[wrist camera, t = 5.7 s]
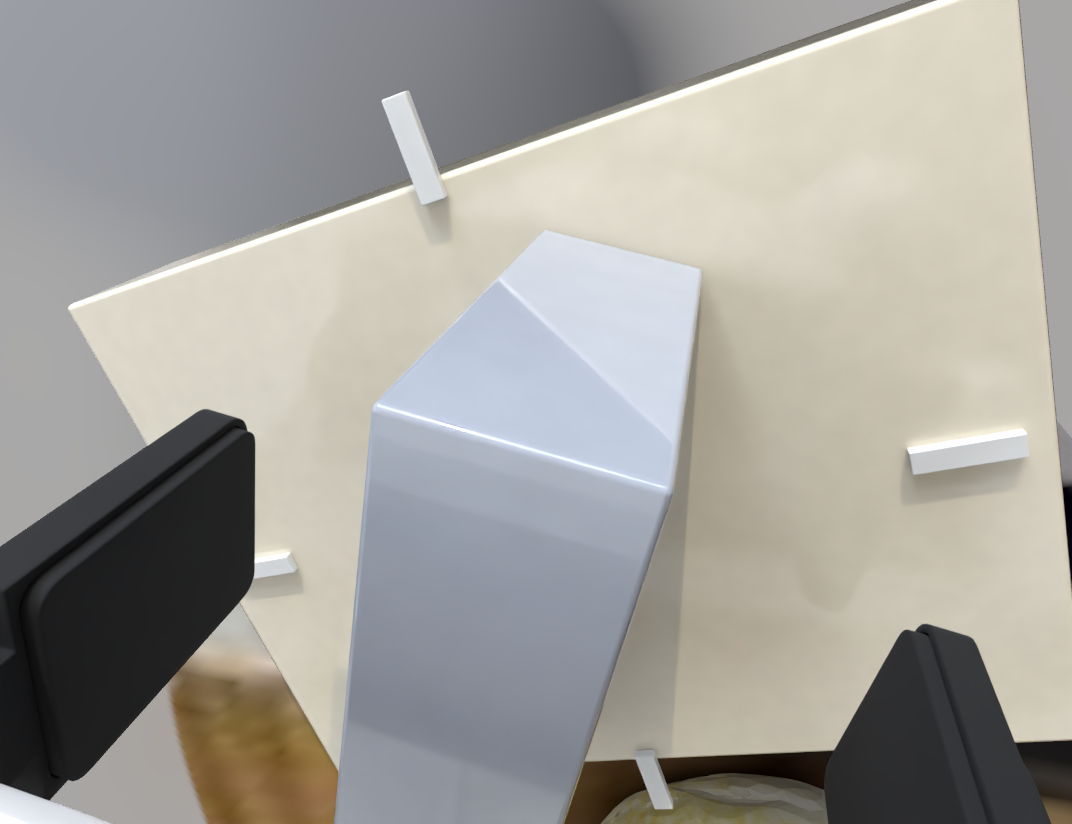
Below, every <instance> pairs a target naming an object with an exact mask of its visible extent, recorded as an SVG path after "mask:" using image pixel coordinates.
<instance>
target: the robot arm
mask: <svg viewBox="0 0 1072 824" xmlns="http://www.w3.org/2000/svg"><path fill="white" fill-rule="evenodd" d="M254 572H255V437H254V435H253V434H252V433H251V432H248V431H247V426H246V424H245V422H244V421H243V420H242V419H239V418H236V417H233V416H229V415H226V414H223V413H219V412H216V411H213V410H209V409H202V410H200V411H198V412H196V413H195V414H193V415H192V416H190V417H189V418H187V419H186V420H185V421H183V422H182V423H180V424H179V425H177V426H176V427H174V428H173V429H171V430H170V431H168V432H167V433H166V434H164V435H163V436H161V437H160V438H158V439H157V440H155V441H154V442H152V443H151V444H150V445H148V446H147V447H145V448H144V449H142V450H141V451H139V452H138V453H136V454H135V455H133V456H132V457H131V458H129V459H128V460H126V461H125V462H123V463H122V464H120V465H119V466H117V467H116V468H114V469H113V470H112V471H110V472H109V473H107V474H106V475H104V476H103V477H101V478H100V479H99V480H97V481H96V482H94V483H93V484H91V485H90V486H88V487H87V488H86V489H84V490H82V491H81V492H79V493H78V494H76V495H75V496H74V497H72V498H71V499H69V500H68V501H66V502H65V503H63V504H62V505H61V506H59V507H57V508H56V509H55V510H53V511H52V512H50V513H49V514H47V515H46V516H44V517H43V518H42V519H40V520H39V521H37V522H36V523H34V524H33V525H31V526H30V527H28V528H27V529H25V530H24V531H22V532H21V533H20V534H18V535H17V536H15V537H14V538H12V539H11V540H9V541H8V542H7V543H5V544H4V545H2V546H1V547H0V824H112V823H109V822H107V821H104V820H101V819H98V818H96V817H93V816H91V815H88V814H85V813H83V812H80V811H77V810H75V809H71V808H69V807H66V806H63V805H60V804H58V803H55V802H52V801H49V800H50V799H51V798H52V797H53V796H54V795H55V794H56V793H57V791H58V790H59V789H60V788H61V787H62V786H63V785H64V784H65V783H66V782H67V780H71V781H75V780H78V779H80V778H81V777H83V776H84V775H85V774H86V773H87V772H88V771H89V770H90V769H91V768H92V767H93V766H94V765H95V764H96V762H97V761H98V760H99V759H100V758H101V757H102V756H103V755H104V753H105V752H106V751H107V750H108V749H109V748H110V747H111V745H113V743H114V742H115V741H116V740H117V739H118V738H119V737H120V736H121V734H122V733H123V732H124V731H125V730H126V729H127V728H128V727H129V725H130V724H131V723H132V722H133V721H134V720H135V719H136V718H137V716H138V715H139V714H140V713H141V712H142V711H143V710H144V709H145V707H146V706H147V705H148V704H149V703H150V702H151V701H152V700H153V698H154V697H155V696H156V695H157V694H158V693H159V692H160V691H161V690H162V688H163V687H164V686H165V685H166V684H167V683H168V682H169V681H170V679H171V678H172V677H173V676H174V675H175V674H176V673H177V672H178V670H179V669H180V668H181V667H182V666H183V665H184V664H185V663H186V661H187V660H188V659H189V658H190V657H191V656H192V655H193V654H194V652H195V651H196V650H197V649H198V648H199V647H200V646H201V645H202V644H203V642H204V641H205V640H206V639H207V638H208V637H209V636H210V635H211V633H212V632H213V631H214V630H215V629H216V628H217V627H218V626H219V624H220V623H221V622H222V621H223V620H224V619H225V618H226V617H227V615H228V614H229V613H230V612H231V611H232V610H233V609H234V608H235V606H236V605H237V604H238V603H239V602H240V601H241V600H242V599H243V597H244V596H245V595H246V594H247V592H248V590H249V588H250V586H251V584H252V581H253V578H254ZM824 791H825V800H826V809H827V818H828V824H1051V822H1050V819H1049V817H1048V814H1047V812H1046V809H1045V807H1044V804H1043V802H1042V799H1041V797H1040V794H1039V792H1038V789H1037V787H1036V784H1035V782H1034V779H1033V777H1032V776H1031V774H1030V772H1029V770H1028V768H1027V767H1026V766H1025V765H1024V764H1023V762H1022V759H1021V756H1020V754H1019V751H1018V749H1017V746H1016V744H1015V741H1014V739H1013V736H1012V733H1011V731H1010V728H1009V726H1008V723H1007V721H1006V718H1005V716H1004V713H1003V710H1002V708H1001V705H1000V703H999V700H998V698H997V695H996V693H995V690H994V687H993V685H992V682H991V680H990V677H989V675H988V672H987V670H986V667H985V664H984V662H983V659H982V657H981V654H980V652H979V649H978V647H977V644H976V643H975V641H974V639H972V638H971V637H969V636H967V635H963V634H960V633H957V632H953V631H950V630H947V629H943V628H940V627H937V626H933V625H930V624H922V625H920V626H919V627H918V628H917V629H916V630H915V631H911V630H904V631H903V632H901V634H900V635H899V636H898V638H897V640H896V642H895V643H894V645H893V647H892V649H891V651H890V652H889V654H888V656H887V658H886V659H885V661H884V663H883V665H882V666H881V668H880V670H879V672H878V674H877V675H876V677H875V679H874V681H873V682H872V684H871V686H870V688H869V689H868V691H867V693H866V695H865V697H864V698H863V700H862V702H861V704H860V705H859V707H858V709H857V711H856V712H855V714H854V716H853V718H852V720H851V721H850V723H849V725H848V727H847V728H846V730H845V732H844V734H843V735H842V737H841V739H840V741H839V743H838V744H837V746H836V748H835V750H834V751H833V753H832V755H831V757H830V759H829V761H828V763H827V767H826V771H825V777H824Z"/></svg>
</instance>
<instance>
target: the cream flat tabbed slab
mask: <svg viewBox="0 0 1072 824" xmlns="http://www.w3.org/2000/svg"><path fill="white" fill-rule="evenodd" d="M382 104H383V107H384V109H385V112H386V115H387V117H388V120H389V122H390V125H391V127H392V130H393V132H394V135H395V138H396V140H397V143H398V146H399V148H400V151H401V153H402V156H403V159H404V161H405V164H406V166H407V169H408V171H409V174H410V177H411V178H409V179H406V180H404V181H401V182H398V183H395V184H392V185H390V186H387V187H384V188H381V189H378V190H375V191H373V192H370V193H367V194H364V195H361V196H358V197H356V198H353V199H350V200H347V201H344V202H342V203H339V204H336V205H333V206H330V207H327V208H325V209H322V210H319V211H316V212H313V213H310V214H308V215H305V216H302V217H299V218H296V219H293V220H291V221H288V222H285V223H282V224H279V225H277V226H274V227H271V228H268V229H265V230H263V231H260V232H257V233H254V234H251V235H249V236H246V237H243V238H240V239H237V240H234V241H231V242H229V243H226V244H223V245H220V246H217V247H215V248H212V249H209V250H206V251H203V252H201V253H198V254H195V255H192V256H189V257H187V258H184V259H181V260H178V261H176V262H173V263H171V264H168V265H166V266H164V267H161V268H158V269H156V270H153V271H151V272H149V273H146V274H144V275H141V276H139V277H136V278H134V279H131V280H129V281H126V282H124V283H122V284H119V285H117V286H114V287H112V288H109V289H107V290H104V291H102V292H99V293H97V294H95V295H92V296H90V297H87V298H85V299H82V300H80V301H77V302H75V303H72V304H71V305H70V306H69V307H68V310H69V313H70V315H71V316H72V318H73V320H74V321H75V323H76V325H77V326H78V328H79V330H80V331H81V333H82V335H83V337H84V338H85V340H86V342H87V344H88V345H89V347H90V349H91V350H92V352H93V354H94V356H95V357H96V359H97V361H98V362H99V364H100V366H101V367H102V369H103V371H104V372H105V374H106V376H107V377H108V379H109V381H110V383H111V385H112V386H113V388H114V389H115V391H116V393H117V394H118V396H119V398H120V400H121V402H122V403H123V405H124V407H125V408H126V410H127V412H128V414H129V415H130V417H131V419H132V420H133V422H134V424H135V426H136V427H137V429H138V431H139V432H140V434H141V436H142V437H143V439H144V441H145V443H146V444H147V446H148V445H150V444H151V443H152V442H154V441H155V440H157V439H158V438H160V437H161V436H163V435H164V434H166V433H167V432H168V431H170V430H171V429H173V428H174V427H176V426H177V425H179V424H180V423H182V422H183V421H185V420H186V419H187V418H189V417H190V416H192V415H193V414H195V413H196V412H198V411H200V410H202V409H209V410H213V411H216V412H219V413H223V414H226V415H229V416H233V417H236V418H239V419H242V420H243V421H244V422H245V424H246V426H247V431H248V432H251V433H252V434H253V435H254V437H255V572H254V578H253V581H252V584H251V586H250V588H249V590H248V592H247V594H246V595H245V596H244V597H243V599H242V600H241V601H240V602H239V603H240V605H241V606H242V608H243V610H244V612H245V613H246V615H247V617H248V618H249V620H250V622H251V624H252V625H253V627H254V629H255V630H256V632H257V634H258V635H259V637H260V639H261V641H262V642H263V644H264V646H265V647H266V649H267V651H268V653H269V654H270V656H271V658H272V659H273V661H274V663H275V664H276V666H277V668H278V670H279V671H280V673H281V675H282V676H283V678H284V680H285V682H286V683H287V685H288V687H289V688H290V690H291V692H292V693H293V695H294V697H295V699H296V700H297V702H298V704H299V705H300V707H301V709H302V711H303V712H304V714H305V716H306V717H307V719H308V721H309V722H310V724H311V726H312V728H313V729H314V731H315V733H316V734H317V736H318V738H319V740H320V741H321V743H322V745H323V746H324V748H325V750H326V752H327V753H328V755H329V757H330V758H331V760H332V762H333V763H334V765H335V767H336V769H337V770H338V771H339V764H340V753H341V742H342V731H343V720H344V709H345V698H346V687H347V676H348V665H349V654H350V643H351V632H352V621H353V610H354V599H355V588H356V577H357V566H358V555H359V544H360V533H361V522H362V511H363V500H364V489H365V478H366V467H367V456H368V445H369V434H370V423H371V412H372V407H373V405H374V403H375V402H376V401H377V400H378V399H379V398H380V397H381V396H382V395H383V394H384V393H385V392H386V391H387V390H388V389H389V388H390V387H391V386H392V384H393V383H394V382H395V381H396V380H397V379H398V378H399V377H400V376H401V375H402V374H403V373H404V372H405V371H406V370H407V369H408V368H409V367H410V366H411V365H412V364H413V363H414V362H415V361H416V360H417V359H418V358H419V357H420V356H421V355H422V354H423V353H424V352H425V351H426V350H427V349H428V348H429V347H430V346H431V345H432V344H433V342H434V341H435V340H436V339H437V338H438V337H439V336H440V335H441V334H442V333H443V332H444V331H445V330H446V329H447V328H448V327H449V326H450V325H451V324H452V323H453V322H454V321H455V320H456V319H457V318H458V317H459V316H460V315H461V314H462V313H463V312H464V311H465V310H466V309H467V308H468V307H469V306H470V305H471V304H472V303H473V302H474V300H475V299H476V298H477V297H478V296H479V295H480V294H481V293H482V292H483V291H484V290H485V289H486V288H487V287H488V286H489V285H490V284H491V283H492V282H493V281H494V280H495V279H496V278H497V277H498V276H499V275H500V274H501V273H502V272H503V271H504V270H505V269H506V268H507V267H508V266H509V265H510V264H511V263H512V262H513V261H514V260H515V258H516V257H517V256H518V255H519V254H520V253H521V252H522V251H523V250H524V249H525V248H526V247H527V246H528V245H529V244H530V243H531V242H532V241H533V240H534V239H535V238H536V237H537V236H538V235H539V234H540V233H541V232H542V231H544V230H548V231H552V232H556V233H560V234H564V235H568V236H572V237H576V238H580V239H584V240H588V241H592V242H596V243H600V244H604V245H608V246H612V247H616V248H620V249H624V250H628V251H632V252H636V253H640V254H644V255H648V256H652V257H656V258H660V259H664V260H668V261H672V262H676V263H680V264H684V265H688V266H692V267H696V268H699V269H701V270H702V271H703V279H702V286H701V294H700V301H699V309H698V316H697V324H696V332H695V339H694V347H693V354H692V362H691V370H690V377H689V385H688V392H687V400H686V407H685V415H684V423H683V430H682V438H681V445H680V453H679V461H678V468H677V476H676V483H675V491H674V496H673V499H672V502H671V505H670V508H669V511H668V514H667V517H666V520H665V523H664V526H663V529H662V532H661V535H660V538H659V541H658V544H657V547H656V550H655V553H654V556H653V559H652V562H651V565H650V568H649V571H648V574H647V577H646V580H645V583H644V586H643V589H642V592H641V595H640V598H639V601H638V604H637V607H636V610H635V613H634V616H633V619H632V622H631V625H630V628H629V631H628V634H627V637H626V640H625V643H624V646H623V649H622V652H621V655H620V658H619V661H618V664H617V667H616V670H615V673H614V676H613V679H612V682H611V685H610V688H609V691H608V694H607V697H606V700H605V703H604V706H603V709H602V712H601V715H600V718H599V721H598V724H597V727H596V730H595V733H594V736H593V739H592V742H591V745H590V748H589V751H588V754H587V757H586V760H585V762H590V761H613V760H636V762H637V764H638V767H639V770H640V772H641V775H642V777H643V780H644V783H645V785H646V788H647V790H648V793H649V795H650V798H651V801H652V803H653V806H654V808H655V809H673V800H672V797H671V794H670V792H669V789H668V786H667V784H666V781H665V778H664V776H663V773H662V770H661V768H660V765H659V762H658V758H681V757H703V756H726V755H748V754H771V753H793V752H816V751H834V750H835V748H836V746H837V744H838V743H839V741H840V739H841V737H842V735H843V734H844V732H845V730H846V728H847V727H848V725H849V723H850V721H851V720H852V718H853V716H854V714H855V712H856V711H857V709H858V707H859V705H860V704H861V702H862V700H863V698H864V697H865V695H866V693H867V691H868V689H869V688H870V686H871V684H872V682H873V681H874V679H875V677H876V675H877V674H878V672H879V670H880V668H881V666H882V665H883V663H884V661H885V659H886V658H887V656H888V654H889V652H890V651H891V649H892V647H893V645H894V643H895V642H896V640H897V638H898V636H899V635H900V634H901V632H903V631H904V630H911V631H915V630H916V629H917V628H918V627H919V626H920V625H922V624H930V625H933V626H937V627H940V628H943V629H947V630H950V631H953V632H957V633H960V634H963V635H967V636H969V637H971V638H972V639H974V641H975V643H976V644H977V647H978V649H979V652H980V654H981V657H982V659H983V662H984V664H985V667H986V670H987V672H988V675H989V677H990V680H991V682H992V685H993V687H994V690H995V693H996V695H997V698H998V700H999V703H1000V705H1001V708H1002V710H1003V713H1004V716H1005V718H1006V721H1007V723H1008V726H1009V728H1010V731H1011V733H1012V736H1013V739H1014V741H1015V743H1019V742H1041V741H1064V740H1072V586H1071V575H1070V564H1069V553H1068V542H1067V531H1066V519H1065V508H1064V497H1063V486H1062V475H1061V464H1060V453H1059V442H1058V431H1057V420H1056V409H1055V398H1054V387H1053V375H1052V365H1051V353H1050V342H1049V331H1048V320H1047V309H1046V297H1045V286H1044V275H1043V264H1042V253H1041V242H1040V231H1039V220H1038V208H1037V197H1036V186H1035V176H1034V165H1033V154H1032V142H1031V132H1030V120H1029V109H1028V97H1027V86H1026V75H1025V64H1024V53H1023V42H1022V31H1021V20H1020V9H1019V0H911V1H908V2H905V3H903V4H900V5H897V6H894V7H891V8H888V9H886V10H883V11H880V12H877V13H874V14H872V15H869V16H866V17H863V18H861V19H857V20H855V21H852V22H849V23H846V24H843V25H840V26H838V27H835V28H832V29H829V30H826V31H824V32H821V33H818V34H815V35H813V36H810V37H807V38H804V39H802V40H798V41H795V42H793V43H790V44H787V45H784V46H781V47H779V48H776V49H773V50H770V51H767V52H764V53H762V54H759V55H756V56H753V57H751V58H748V59H745V60H742V61H739V62H736V63H733V64H730V65H728V66H725V67H722V68H719V69H716V70H714V71H711V72H708V73H706V74H702V75H700V76H697V77H694V78H691V79H688V80H685V81H683V82H680V83H677V84H674V85H672V86H668V87H666V88H663V89H660V90H657V91H654V92H652V93H649V94H646V95H643V96H640V97H637V98H635V99H632V100H629V101H626V102H624V103H621V104H618V105H615V106H612V107H610V108H607V109H604V110H601V111H598V112H595V113H593V114H590V115H587V116H584V117H581V118H579V119H575V120H573V121H570V122H567V123H564V124H562V125H559V126H556V127H553V128H550V129H547V130H545V131H542V132H539V133H536V134H533V135H531V136H528V137H525V138H522V139H519V140H516V141H513V142H511V143H508V144H505V145H502V146H499V147H496V148H494V149H491V150H488V151H485V152H482V153H480V154H477V155H474V156H471V157H469V158H466V159H463V160H460V161H457V162H454V163H452V164H449V165H446V166H443V167H440V168H437V165H436V162H435V160H434V157H433V154H432V152H431V149H430V146H429V144H428V141H427V138H426V136H425V133H424V130H423V128H422V125H421V122H420V119H419V117H418V114H417V111H416V109H415V106H414V103H413V101H412V98H411V95H410V93H409V91H404V92H401V93H399V94H396V95H394V96H391V97H389V98H386V99H384V100H382Z"/></svg>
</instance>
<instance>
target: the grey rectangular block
mask: <svg viewBox="0 0 1072 824" xmlns="http://www.w3.org/2000/svg"><path fill="white" fill-rule="evenodd" d="M702 279H703V271H702V270H701V269H699V268H696V267H692V266H688V265H684V264H680V263H676V262H672V261H668V260H664V259H660V258H656V257H652V256H648V255H644V254H640V253H636V252H632V251H628V250H624V249H620V248H616V247H612V246H608V245H604V244H600V243H596V242H592V241H588V240H584V239H580V238H576V237H572V236H568V235H564V234H560V233H556V232H552V231H548V230H544V231H542V232H541V233H540V234H539V235H538V236H537V237H536V238H535V239H534V240H533V241H532V242H531V243H530V244H529V245H528V246H527V247H526V248H525V249H524V250H523V251H522V252H521V253H520V254H519V255H518V256H517V257H516V258H515V260H514V261H513V262H512V263H511V264H510V265H509V266H508V267H507V268H506V269H505V270H504V271H503V272H502V273H501V274H500V275H499V276H498V277H497V278H496V279H495V280H494V281H493V282H492V283H491V284H490V285H489V286H488V287H487V288H486V289H485V290H484V291H483V292H482V293H481V294H480V295H479V296H478V297H477V298H476V299H475V300H474V302H473V303H472V304H471V305H470V306H469V307H468V308H467V309H466V310H465V311H464V312H463V313H462V314H461V315H460V316H459V317H458V318H457V319H456V320H455V321H454V322H453V323H452V324H451V325H450V326H449V327H448V328H447V329H446V330H445V331H444V332H443V333H442V334H441V335H440V336H439V337H438V338H437V339H436V340H435V341H434V342H433V344H432V345H431V346H430V347H429V348H428V349H427V350H426V351H425V352H424V353H423V354H422V355H421V356H420V357H419V358H418V359H417V360H416V361H415V362H414V363H413V364H412V365H411V366H410V367H409V368H408V369H407V370H406V371H405V372H404V373H403V374H402V375H401V376H400V377H399V378H398V379H397V380H396V381H395V382H394V383H393V384H392V386H391V387H390V388H389V389H388V390H387V391H386V392H385V393H384V394H383V395H382V396H381V397H380V398H379V399H378V400H377V401H376V402H375V403H374V405H373V407H372V412H371V423H370V434H369V445H368V456H367V467H366V478H365V489H364V500H363V511H362V522H361V533H360V544H359V555H358V566H357V577H356V588H355V599H354V610H353V621H352V632H351V643H350V654H349V665H348V676H347V687H346V698H345V709H344V720H343V731H342V742H341V753H340V764H339V775H338V786H337V797H336V808H335V819H334V824H564V822H565V819H566V816H567V813H568V810H569V807H570V804H571V801H572V798H573V796H574V793H575V790H576V787H577V784H578V781H579V778H580V775H581V772H582V769H583V766H584V763H585V760H586V757H587V754H588V751H589V748H590V745H591V742H592V739H593V736H594V733H595V730H596V727H597V724H598V721H599V718H600V715H601V712H602V709H603V706H604V703H605V700H606V697H607V694H608V691H609V688H610V685H611V682H612V679H613V676H614V673H615V670H616V667H617V664H618V661H619V658H620V655H621V652H622V649H623V646H624V643H625V640H626V637H627V634H628V631H629V628H630V625H631V622H632V619H633V616H634V613H635V610H636V607H637V604H638V601H639V598H640V595H641V592H642V589H643V586H644V583H645V580H646V577H647V574H648V571H649V568H650V565H651V562H652V559H653V556H654V553H655V550H656V547H657V544H658V541H659V538H660V535H661V532H662V529H663V526H664V523H665V520H666V517H667V514H668V511H669V508H670V505H671V502H672V499H673V496H674V491H675V483H676V476H677V468H678V461H679V453H680V445H681V438H682V430H683V423H684V415H685V407H686V400H687V392H688V385H689V377H690V370H691V362H692V354H693V347H694V339H695V332H696V324H697V316H698V309H699V301H700V294H701V286H702Z"/></svg>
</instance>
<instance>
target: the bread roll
mask: <svg viewBox="0 0 1072 824" xmlns="http://www.w3.org/2000/svg"><path fill="white" fill-rule="evenodd" d="M667 786H668V789H669V792H670V794H671V797H672V800H673V809H655V808H654V806H653V803H652V801H651V798H650V795H649V793H648V790H644V791H640V792H637V793H635V794H633V795H631V796H630V797H628V798H626V799H625V800H623V801H622V802H621V803H620V804H619V805H618V806H616V807H615V808H614V809H613V810H612V811H611V813H610V814H609V815H608V816H607V817H606V818H605V819H604V821H603V822H602V823H601V824H828V818H827V809H826V800H825V791H824V790H823V789H820V788H817V787H815V786H812V785H809V784H806V783H804V782H801V781H796V780H791V779H787V778H781V777H773V776H764V775H753V774H740V773H721V774H714V775H709V776H705V777H697V778H692V779H688V780H683V781H678V782H674V783H670V784H667Z"/></svg>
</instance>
